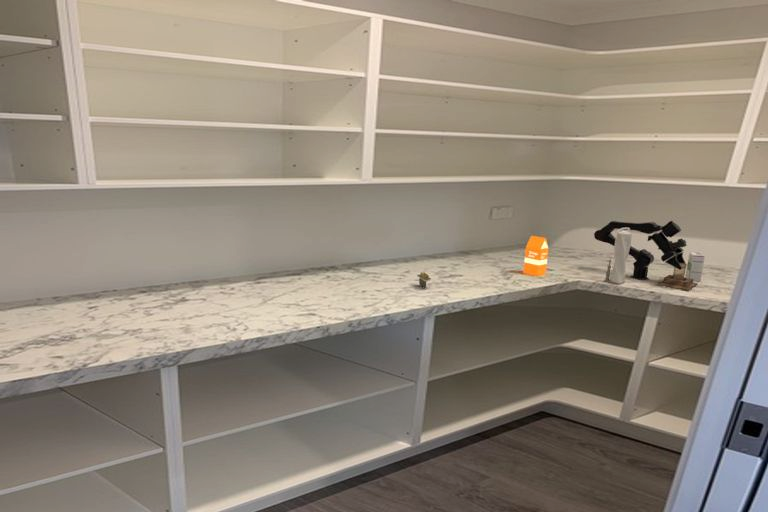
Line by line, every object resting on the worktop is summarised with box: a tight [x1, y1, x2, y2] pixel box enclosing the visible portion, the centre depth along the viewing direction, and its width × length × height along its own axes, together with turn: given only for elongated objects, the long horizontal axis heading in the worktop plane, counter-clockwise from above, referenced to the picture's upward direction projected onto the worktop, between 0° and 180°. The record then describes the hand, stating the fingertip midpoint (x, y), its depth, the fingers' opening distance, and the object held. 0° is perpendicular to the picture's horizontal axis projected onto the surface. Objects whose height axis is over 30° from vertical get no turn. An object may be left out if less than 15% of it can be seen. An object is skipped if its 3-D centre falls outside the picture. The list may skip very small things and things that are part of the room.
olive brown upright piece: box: [416, 271, 432, 289], centre depth 230 cm, size 12×18×7 cm, turn 18°
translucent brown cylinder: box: [672, 263, 687, 281], centre depth 251 cm, size 5×5×10 cm
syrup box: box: [684, 252, 706, 282], centre depth 263 cm, size 6×6×14 cm
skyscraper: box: [604, 228, 633, 285], centre depth 250 cm, size 8×8×28 cm
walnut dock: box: [656, 274, 699, 292], centre depth 252 cm, size 14×18×4 cm
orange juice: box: [523, 235, 549, 277], centre depth 262 cm, size 8×9×20 cm
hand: (683, 267), depth 249 cm, fingers open, 9 cm apart
